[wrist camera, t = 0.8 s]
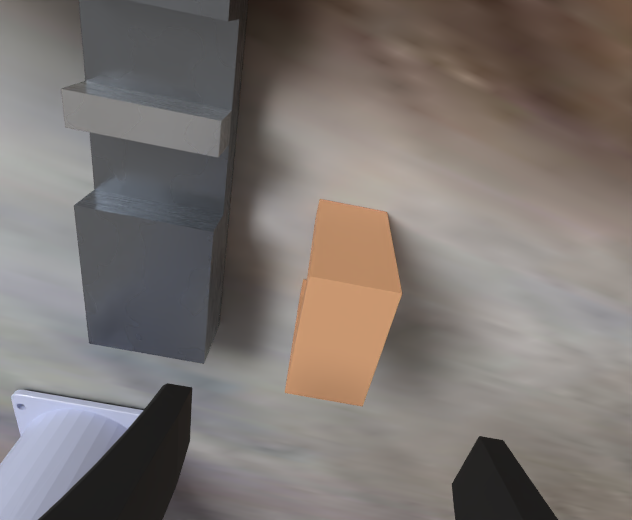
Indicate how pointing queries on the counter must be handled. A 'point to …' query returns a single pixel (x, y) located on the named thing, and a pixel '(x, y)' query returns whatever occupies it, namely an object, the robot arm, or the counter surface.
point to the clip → (344, 304)
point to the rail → (157, 168)
